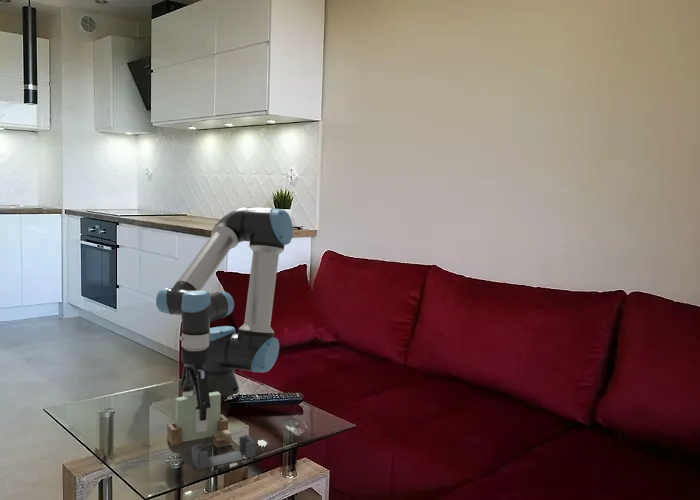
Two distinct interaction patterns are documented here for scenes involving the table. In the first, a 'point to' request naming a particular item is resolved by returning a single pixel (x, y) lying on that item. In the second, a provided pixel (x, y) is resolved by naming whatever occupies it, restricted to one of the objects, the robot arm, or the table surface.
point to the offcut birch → (223, 445)
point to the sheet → (188, 416)
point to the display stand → (204, 461)
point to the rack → (176, 433)
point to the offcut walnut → (221, 442)
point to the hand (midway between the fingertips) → (194, 422)
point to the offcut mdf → (222, 435)
